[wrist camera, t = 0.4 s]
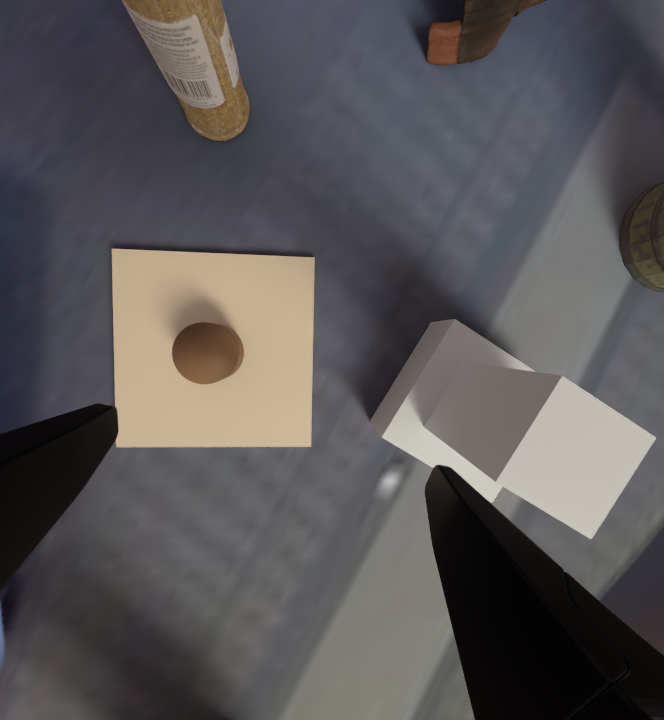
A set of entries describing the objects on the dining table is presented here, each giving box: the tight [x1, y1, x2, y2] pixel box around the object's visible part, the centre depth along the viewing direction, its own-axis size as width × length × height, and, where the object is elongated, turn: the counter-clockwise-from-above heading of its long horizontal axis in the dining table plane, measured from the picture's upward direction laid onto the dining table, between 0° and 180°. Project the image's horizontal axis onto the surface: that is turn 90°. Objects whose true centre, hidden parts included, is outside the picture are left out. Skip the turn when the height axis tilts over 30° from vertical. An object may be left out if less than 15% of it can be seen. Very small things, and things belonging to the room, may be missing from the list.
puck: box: [172, 322, 244, 384], centre depth 21 cm, size 4×4×2 cm
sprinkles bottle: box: [122, 0, 250, 141], centre depth 15 cm, size 5×5×13 cm
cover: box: [370, 319, 656, 539], centre depth 19 cm, size 9×9×12 cm
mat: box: [112, 249, 315, 447], centre depth 23 cm, size 14×14×1 cm
